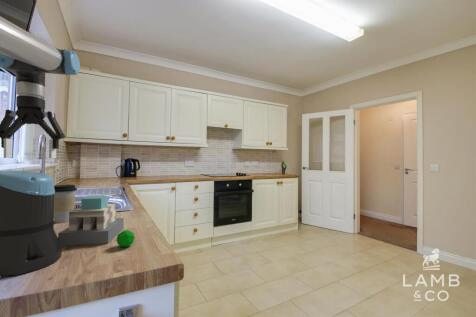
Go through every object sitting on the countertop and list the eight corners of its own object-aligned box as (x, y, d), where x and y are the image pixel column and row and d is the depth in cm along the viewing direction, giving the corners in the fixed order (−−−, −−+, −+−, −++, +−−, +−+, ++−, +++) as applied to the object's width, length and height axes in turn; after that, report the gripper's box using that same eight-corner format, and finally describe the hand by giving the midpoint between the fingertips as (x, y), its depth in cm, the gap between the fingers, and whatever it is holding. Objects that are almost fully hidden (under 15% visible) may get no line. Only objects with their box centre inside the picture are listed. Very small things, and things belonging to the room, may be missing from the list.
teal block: (101, 208, 77) (101, 198, 77) (81, 209, 76) (81, 198, 76) (107, 205, 83) (107, 195, 83) (89, 205, 82) (89, 195, 82)
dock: (108, 243, 73) (108, 231, 73) (58, 246, 70) (58, 233, 70) (123, 228, 89) (123, 218, 89) (83, 230, 86) (83, 219, 86)
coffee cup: (65, 224, 94) (66, 187, 94) (42, 223, 94) (43, 186, 94) (82, 218, 103) (82, 184, 103) (61, 217, 103) (61, 184, 103)
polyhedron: (127, 242, 75) (127, 227, 75) (138, 245, 72) (138, 229, 72) (113, 247, 70) (113, 231, 70) (123, 250, 68) (123, 234, 68)
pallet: (103, 229, 75) (103, 210, 75) (68, 230, 73) (69, 211, 73) (116, 219, 86) (116, 203, 86) (86, 220, 85) (86, 204, 84)
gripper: (76, 101, 87) (75, 158, 87) (-2, 98, 83) (-3, 157, 83) (65, 96, 80) (64, 158, 80) (-21, 92, 75) (-22, 157, 75)
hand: (30, 158), depth 81 cm, fingers open, 13 cm apart
